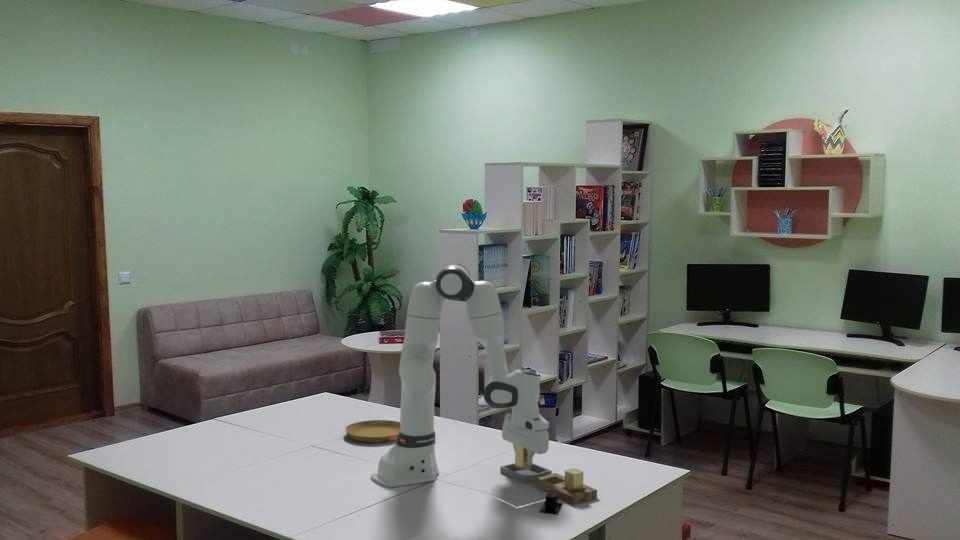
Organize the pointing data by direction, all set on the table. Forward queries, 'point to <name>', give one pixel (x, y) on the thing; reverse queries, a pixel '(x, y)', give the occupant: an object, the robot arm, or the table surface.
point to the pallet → (563, 489)
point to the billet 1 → (521, 458)
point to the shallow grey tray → (524, 472)
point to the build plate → (551, 504)
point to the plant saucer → (373, 430)
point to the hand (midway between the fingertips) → (523, 459)
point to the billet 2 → (574, 480)
